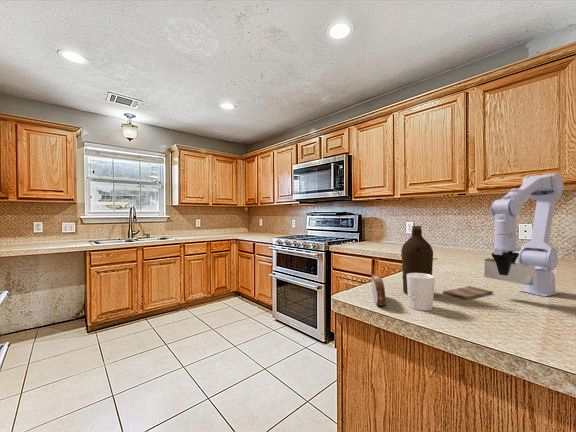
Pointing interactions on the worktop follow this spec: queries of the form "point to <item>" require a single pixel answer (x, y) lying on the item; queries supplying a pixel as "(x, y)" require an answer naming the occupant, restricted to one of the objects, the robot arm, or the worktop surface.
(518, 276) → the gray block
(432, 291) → the white cup
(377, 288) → the tin
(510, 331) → the worktop surface
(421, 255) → the olive oil
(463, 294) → the walnut board
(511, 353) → the worktop surface
